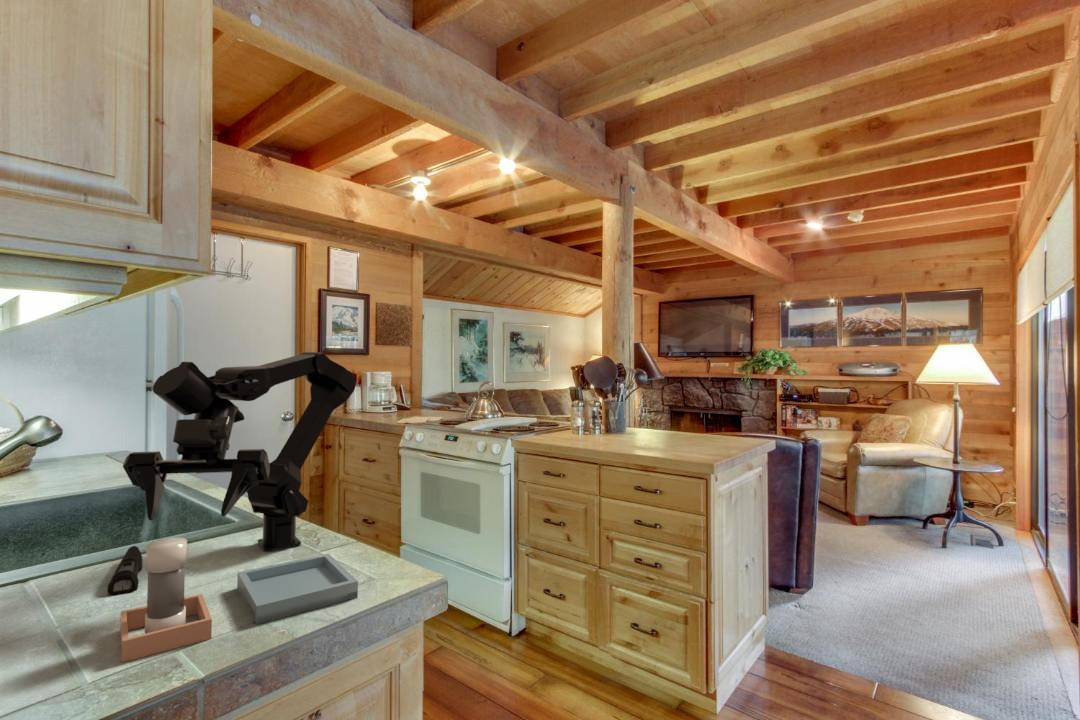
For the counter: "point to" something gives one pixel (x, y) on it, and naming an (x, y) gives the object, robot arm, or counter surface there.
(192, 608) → the socket ring
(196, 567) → the counter surface
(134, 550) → the electric trimmer
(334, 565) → the parts tray
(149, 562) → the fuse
